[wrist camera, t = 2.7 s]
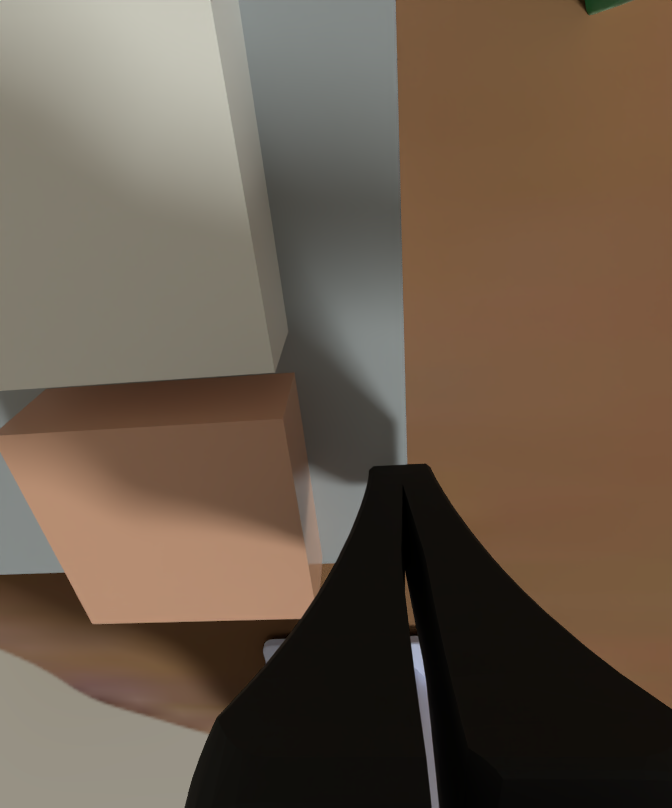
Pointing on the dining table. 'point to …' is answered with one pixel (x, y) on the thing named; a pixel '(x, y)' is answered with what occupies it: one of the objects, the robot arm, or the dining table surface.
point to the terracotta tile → (173, 497)
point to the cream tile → (132, 196)
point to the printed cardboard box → (602, 5)
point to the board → (312, 253)
